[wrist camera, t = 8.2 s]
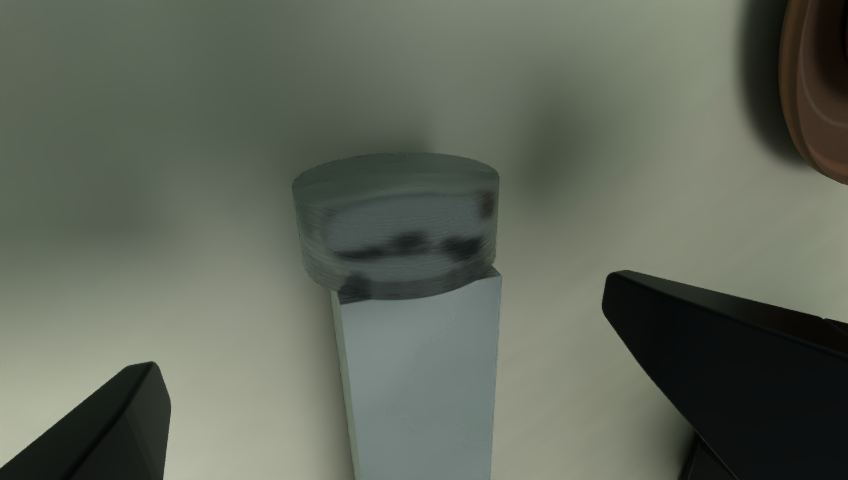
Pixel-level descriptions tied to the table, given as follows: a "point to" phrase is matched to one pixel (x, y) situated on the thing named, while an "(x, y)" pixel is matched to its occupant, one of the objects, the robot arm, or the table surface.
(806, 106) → the cup and saucer
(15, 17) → the table surface
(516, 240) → the table surface
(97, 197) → the table surface
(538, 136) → the table surface
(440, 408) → the shaft
